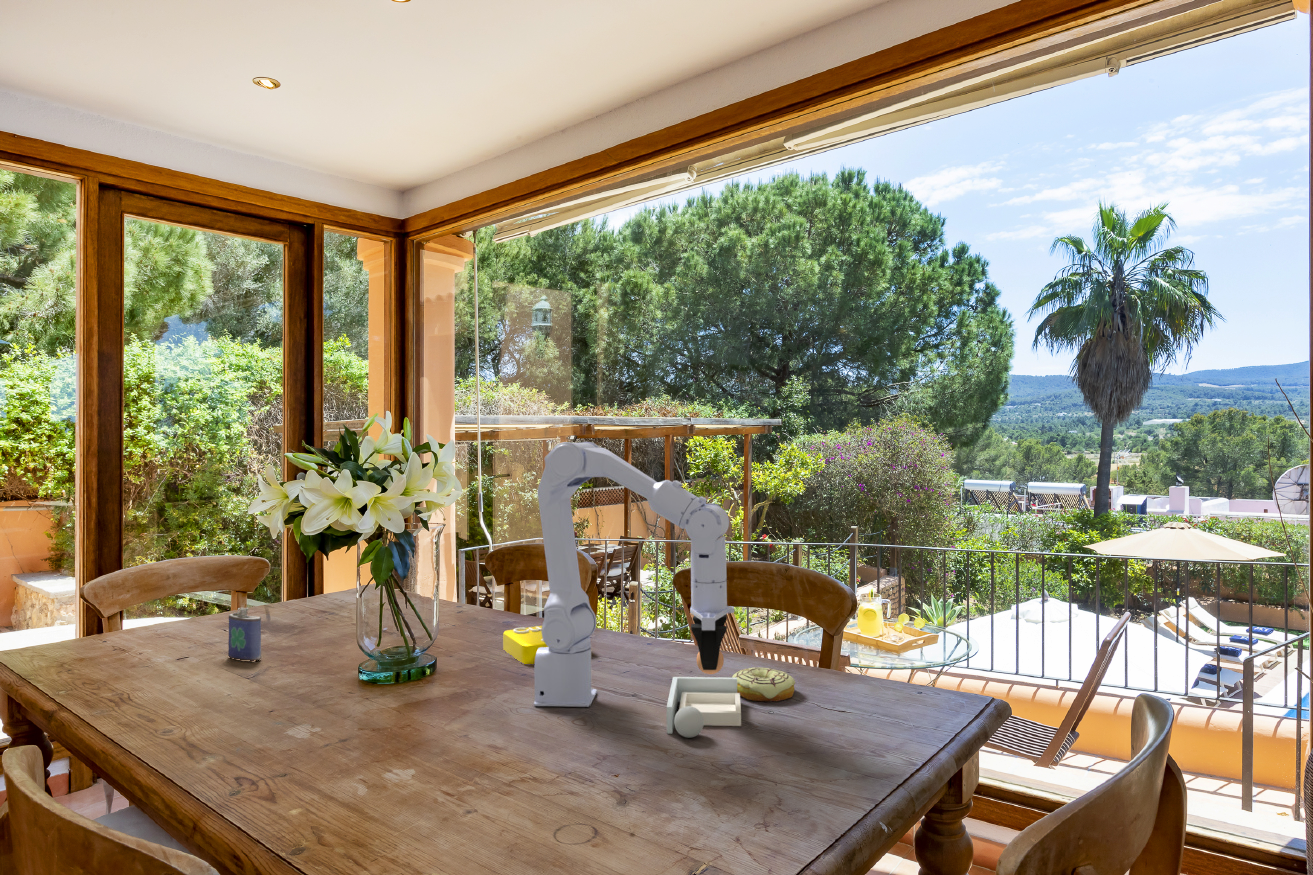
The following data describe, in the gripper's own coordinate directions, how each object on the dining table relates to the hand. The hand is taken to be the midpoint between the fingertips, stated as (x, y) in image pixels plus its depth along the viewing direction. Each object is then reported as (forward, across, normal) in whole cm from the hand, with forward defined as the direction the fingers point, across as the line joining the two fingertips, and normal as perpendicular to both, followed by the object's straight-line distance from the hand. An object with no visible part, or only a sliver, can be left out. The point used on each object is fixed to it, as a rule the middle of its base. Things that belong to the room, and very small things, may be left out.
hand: (709, 664), depth 125 cm
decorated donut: (+8, +11, -9) cm, 17 cm away
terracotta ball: (+1, 0, 0) cm, 1 cm away
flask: (+8, +28, +97) cm, 101 cm away
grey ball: (+8, -10, +3) cm, 13 cm away
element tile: (+9, +36, +35) cm, 51 cm away
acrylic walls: (+8, -1, +1) cm, 8 cm away
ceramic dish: (+8, 0, 0) cm, 8 cm away
